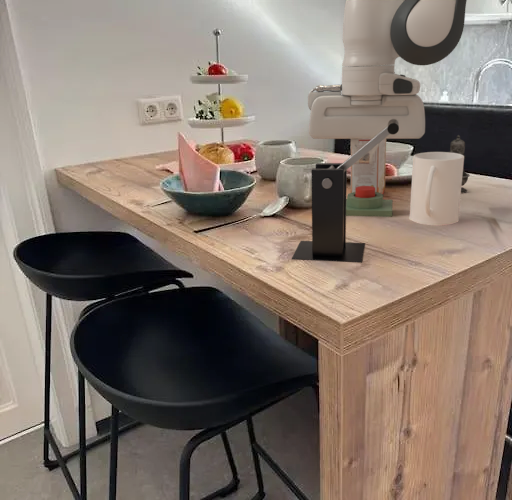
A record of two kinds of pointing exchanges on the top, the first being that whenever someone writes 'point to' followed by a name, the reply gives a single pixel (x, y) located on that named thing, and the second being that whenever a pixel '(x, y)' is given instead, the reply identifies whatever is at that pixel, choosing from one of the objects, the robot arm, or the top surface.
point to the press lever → (370, 145)
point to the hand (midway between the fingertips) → (364, 163)
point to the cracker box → (370, 169)
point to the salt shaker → (459, 148)
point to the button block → (368, 206)
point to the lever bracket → (329, 219)
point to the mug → (436, 188)
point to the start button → (365, 192)
